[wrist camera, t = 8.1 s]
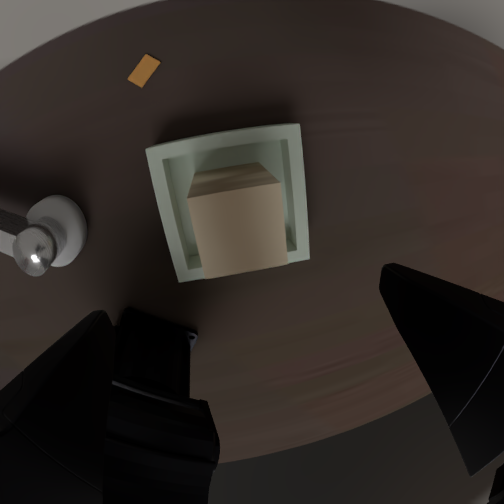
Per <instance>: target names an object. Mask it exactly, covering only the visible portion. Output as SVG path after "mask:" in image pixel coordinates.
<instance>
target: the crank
mask: <svg viewBox="0 0 504 504" xmlns="http://www.w3.org/2000/svg"><path fill="white" fill-rule="evenodd" d="M65 245H66V236H65V232H64V230H63V228H62V226H61V225H60V224H59V223H58V222H57V221H56V220H55V219H53V218H51V217H48V216H44V217H40V218H39V219H37V220H36V221H33V220H30V219H27V218H25V217H22V216H19V215H17V214H14V213H11V212H9V211H6V210H3V209H1V208H0V251H1V252H3V253H5V254H7V255H10V256H12V257H14V258H15V260H16V262H17V264H18V266H19V267H20V268H21V269H22V270H23V271H24V272H25V273H27V274H29V275H31V276H41V275H42V274H44V273H45V271H46V270H47V269H48V268H49V267H50V265H51V264H52V263H53V262H54V261H55V260H56V259H57V257H58V256H59V255H60V254H61V253H62V252H63V250H64V248H65Z"/></svg>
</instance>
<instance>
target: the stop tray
mask: <svg viewBox="0 0 504 504" xmlns="http://www.w3.org/2000/svg"><path fill="white" fill-rule="evenodd" d="M145 150H146V155H147V159H148V164H149V169H150V174H151V178H152V183H153V187H154V191H155V196H156V200H157V204H158V208H159V212H160V216H161V220H162V224H163V228H164V232H165V235H166V239H167V243H168V246H169V250H170V254H171V257H172V261H173V264H174V268H175V271H176V274H177V278H178V281H179V283H180V282H186V281H192V280H198V279H203V278H205V276H204V272H203V268H202V264H201V260H200V255H199V251H198V247H197V243H196V238H195V234H194V230H193V225H192V221H191V216H190V212H189V207H188V202H187V196H188V193H189V189H190V186H191V183H192V179H193V176H194V173H196V172H201V171H207V170H212V169H218V168H223V167H229V166H235V165H242V164H248V163H255V162H259V163H260V164H261V165H262V166H263V167H264V168H265V169H267V170H268V171H269V172H270V173H271V174H272V175H273V176H274V177H275V178H276V179H277V180H278V181H279V182H280V183H281V192H282V202H283V212H284V223H285V234H286V245H287V257H288V263H291V262H297V261H302V260H307V259H310V257H309V235H308V217H307V201H306V187H305V174H304V162H303V151H302V141H301V131H300V124H296V123H282V124H272V125H263V126H255V127H247V128H240V129H233V130H227V131H221V132H215V133H209V134H203V135H198V136H193V137H188V138H183V139H178V140H174V141H169V142H165V143H160V144H156V145H153V146H151V147H149V148H147V149H145Z"/></svg>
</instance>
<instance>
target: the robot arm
mask: <svg viewBox="0 0 504 504" xmlns="http://www.w3.org/2000/svg"><path fill="white" fill-rule="evenodd" d="M379 290H380V293H381V295H382V297H383V300H384V302H385V304H386V306H387V308H388V310H389V312H390V314H391V317H392V319H393V321H394V323H395V325H396V327H397V329H398V331H399V333H400V334H401V336H402V338H403V340H404V341H405V343H406V345H407V347H408V348H409V350H410V352H411V354H412V355H413V357H414V359H415V361H416V363H417V364H418V366H419V368H420V370H421V372H422V374H423V376H424V377H425V379H426V381H427V383H428V385H429V387H430V389H431V391H432V393H433V395H434V397H435V399H436V401H437V403H438V405H439V407H440V409H441V411H442V413H443V415H444V417H445V419H446V422H447V424H448V426H449V427H450V428H449V429H450V431H451V433H452V435H453V437H454V440H455V442H456V444H457V446H458V449H459V451H460V453H461V456H462V458H463V461H464V463H465V466H466V469H467V471H468V473H469V475H470V477H472V476H473V475H475V474H476V473H477V472H479V471H480V470H481V469H483V468H484V467H485V466H487V465H488V464H489V463H491V462H492V461H493V460H494V459H496V458H497V457H498V456H499V455H500V454H502V453H503V452H504V302H502V301H499V300H496V299H494V298H491V297H488V296H486V295H483V294H479V293H478V292H475V291H472V290H470V289H467V288H464V287H461V286H459V285H456V284H453V283H451V282H448V281H445V280H442V279H439V278H437V277H434V276H431V275H428V274H425V273H423V272H420V271H417V270H414V269H411V268H408V267H405V266H402V265H399V264H396V263H390V264H385V265H384V266H383V267H382V270H381V277H380V284H379ZM127 313H130V314H131V315H128V314H127ZM190 335H193V336H190ZM197 339H198V333H197V332H196V331H195V330H192V329H189V328H186V327H183V326H180V325H177V324H174V323H171V322H168V321H165V320H162V319H159V318H157V317H154V316H151V315H148V314H145V313H143V312H140V311H137V310H135V309H132V308H125V309H124V312H123V315H122V318H121V322H120V326H117V325H116V326H113V325H112V323H111V321H110V319H109V316H108V314H107V313H106V311H104V310H97V311H93V312H91V313H90V314H89V315H88V316H86V317H85V318H84V319H83V320H81V321H80V322H79V323H78V324H76V325H75V326H74V327H73V328H72V329H70V330H69V331H68V332H67V333H66V334H64V335H63V336H62V337H61V338H60V339H59V340H57V341H56V342H55V343H54V344H53V345H51V346H50V347H49V348H48V349H47V350H46V351H45V352H43V353H42V354H41V355H40V356H39V357H38V358H36V359H35V360H34V361H33V362H32V363H31V364H30V365H29V366H27V367H26V368H25V369H24V371H22V372H21V373H20V374H18V375H17V376H16V377H15V378H14V379H13V380H12V381H11V382H10V383H8V384H7V385H6V386H5V387H4V388H3V389H1V390H0V504H208V493H209V492H208V491H209V486H210V481H211V476H212V474H213V472H214V471H215V469H216V467H217V464H218V460H219V454H220V441H219V437H218V433H217V430H216V427H215V424H214V421H213V418H212V415H211V412H210V408H209V405H208V402H207V401H205V400H201V399H200V400H196V399H192V398H190V352H191V350H192V348H193V346H194V344H195V343H196V341H197ZM487 504H504V463H503V464H502V465H501V466H500V467H499V468H498V469H497V470H496V475H495V478H494V482H493V486H492V489H491V493H490V496H489V502H488V503H487Z"/></svg>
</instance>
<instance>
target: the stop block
mask: <svg viewBox="0 0 504 504" xmlns="http://www.w3.org/2000/svg"><path fill="white" fill-rule="evenodd" d="M187 202H188V207H189V212H190V216H191V221H192V225H193V230H194V234H195V238H196V243H197V247H198V251H199V255H200V260H201V264H202V268H203V272H204V276H205V279H211V278H216V277H222V276H228V275H233V274H239V273H244V272H250V271H255V270H261V269H266V268H271V267H277V266H282V265H287V264H288V257H287V245H286V234H285V223H284V212H283V202H282V192H281V183H280V182H279V181H278V180H277V179H276V178H275V177H274V176H273V175H272V174H271V173H270V172H269V171H268V170H267V169H265V168H264V167H263V166H262V165H261V164H260V163H259V162H255V163H248V164H242V165H235V166H229V167H223V168H218V169H212V170H207V171H201V172H196V173H194V176H193V179H192V183H191V186H190V189H189V193H188V196H187Z"/></svg>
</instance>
